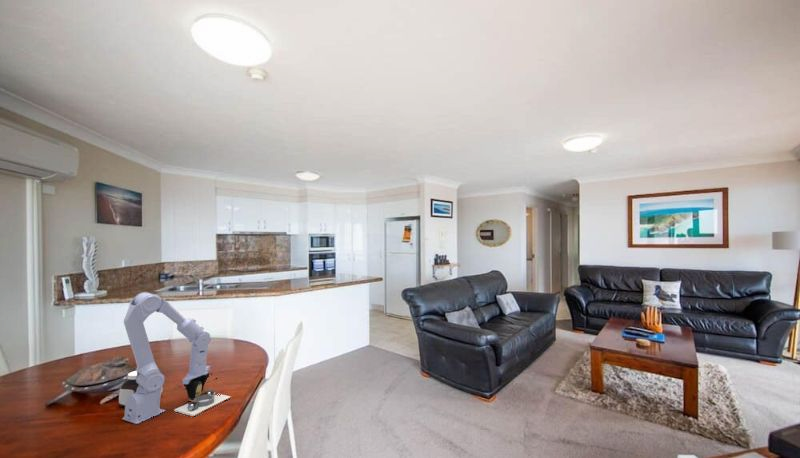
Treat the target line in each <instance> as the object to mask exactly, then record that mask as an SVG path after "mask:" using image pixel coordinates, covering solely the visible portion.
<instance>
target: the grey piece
mask: <svg viewBox="0 0 800 458" xmlns="http://www.w3.org/2000/svg"><path fill="white" fill-rule="evenodd" d="M214 393H215V390H214V389H209V390H207V389H206V391H205V392H204V395H208V394H210V395H214Z"/></svg>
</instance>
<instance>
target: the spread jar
mask: <svg viewBox="0 0 800 458" xmlns="http://www.w3.org/2000/svg"><path fill="white" fill-rule="evenodd" d="M136 376H137V370H133V371H131V372H129V373H127V377H126V378H127V379H126V380H125V381H124V382H123V383H122V384H121V386H120V388H119V393H118V403H119V405H120V406H122V407H124V408H125V405H126V400H127V398H128V397H129V396H131V395H133V394H134V393H135V392H136V390H137V388H138V386H139V384H137V382H136ZM163 390H164V388H163V386H162V388H161V394H162V393H163Z"/></svg>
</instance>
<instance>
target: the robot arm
mask: <svg viewBox="0 0 800 458" xmlns="http://www.w3.org/2000/svg"><path fill="white" fill-rule="evenodd" d="M153 313H162V314H163V315H164V316H166V317H167V318H168V319H169V320H171V321H172V322H173V323H175V324H176V325H177V326H176V330H177V331H178V332H179V333H181V335H182V336H184V337H185V338H186V339H187V340H188V341H189V343H191V348H190V358H189V366H188V368H189V369H188V373H187V374H186V376H185V377H184V378H182V381H181V383H182V384H184V386H185V387H186V389H185V390H186V394H187V398H188V399H189V398H191V399H193V398H195V395H196V389H197V386H198V384H199V382H200V381H201V383H202V389H201V394H202V392H203V390H204V387H205V385H206V383H205V382H206V380H207V378H208V377H209V374H210V373H209V371H211V365H207V356H208V347H209V346H208V345H209V344H210V343H211V341H212V337H211V334H210V333H209V332H207V331H205V330H204V329H205V328H204V327H203V326H200V325H199V324H197V320H196V319H194V318H190V317H188V318H186V317H184V316H183V315H182V314H181V313H180V312H179V311H177V309H175V307H174V306H173V305H171V304H170V302H168V301H166V300H165V299H163V298H162V297H160V295H157V294H153V293H152V292H151V293H150V292H146V291H144V292H140V293H138V294H136V295H135V296H134V297H133V298H132V299H131V300H130V302H129V307H128V310H127V312H126V313H125V314H126V315H125V316H124V319H123V325H124V327H125V330H126V333H127V337H128V342H129V344H130V347H131V350H132V354H133V357H134V360H135V364H136V369H135V371H137V376H136V382H137V384H139V386H138V388H137V390H136V392H135V393H134V394H133V395H131V396H129V397H128V398H127V400H126V405H125V407H124V413H123V414H124V415H123V417H122V420H124V421H127V422H130V423H131V424H132V423H133V424H135V425H137V424H140V423H142V421H143V422H144V421H147V420H149V419H152V418H153V416H154V417H155V416H158V415H161V414H163V413H165V412H166V409H162V408H160V406H161V405H160V404H161V397H162V393H161V388H162V387H163V385H164V384H165V381H166V380H165V379H166V377H165V375H164V374H163V373H161V371H160V369H159V367H158V365H157V364H156V362H155V359H154V354H153V352H152V348H151V344H150V341H149V338H148V335H147V332H146V328H145V325H144V322H145V321H146V320H147V319H148V318H149V316H151V315H152V314H153ZM164 411H165V412H164ZM162 412H163V413H162ZM160 413H161V414H160ZM151 417H152V418H151Z"/></svg>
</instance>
